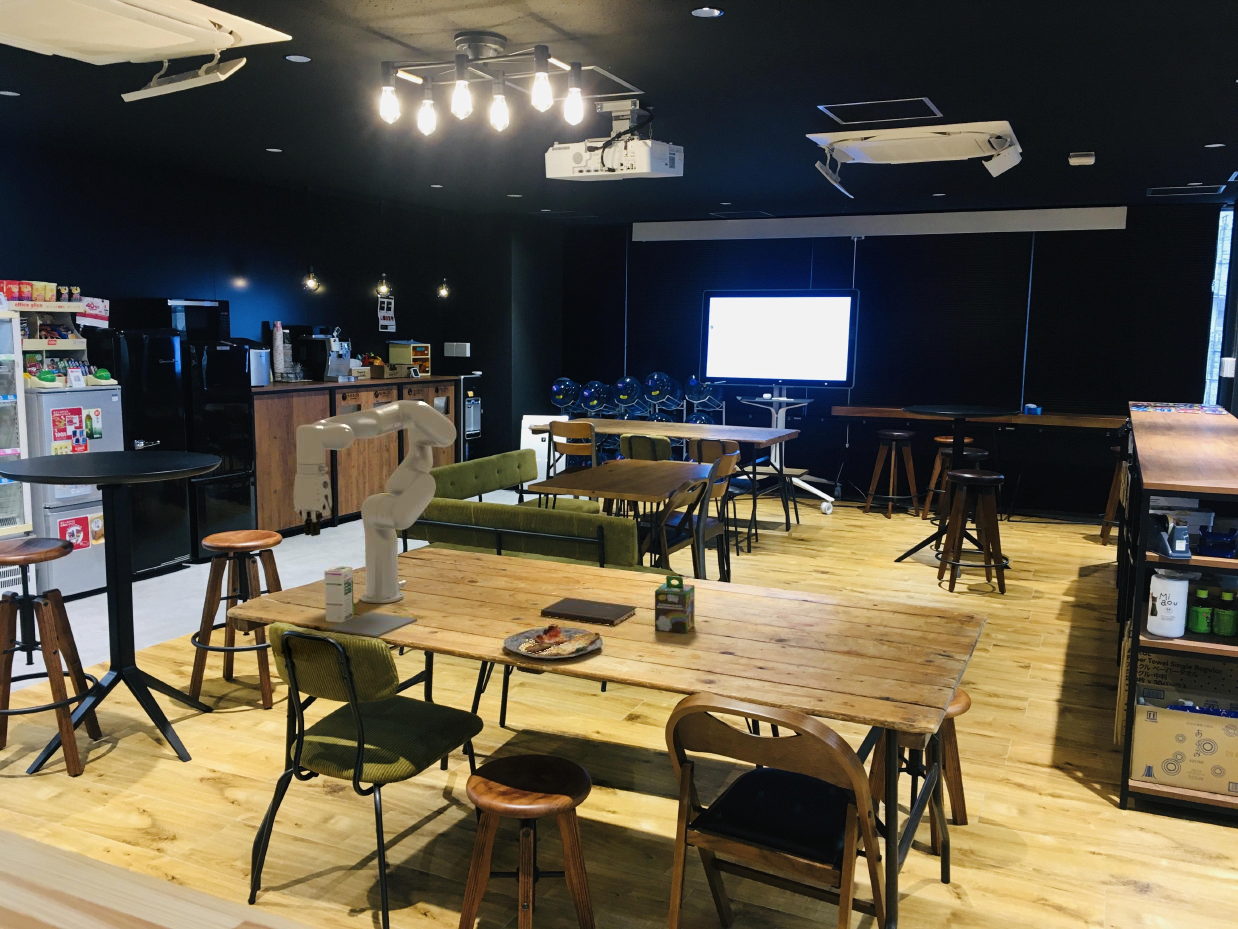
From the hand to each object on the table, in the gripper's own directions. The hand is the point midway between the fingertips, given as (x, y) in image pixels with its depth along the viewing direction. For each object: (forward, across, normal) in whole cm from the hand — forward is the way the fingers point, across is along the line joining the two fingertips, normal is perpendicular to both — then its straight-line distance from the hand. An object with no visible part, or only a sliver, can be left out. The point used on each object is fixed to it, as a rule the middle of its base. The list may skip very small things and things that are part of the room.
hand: (312, 534), depth 271 cm
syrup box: (+23, -9, 0) cm, 25 cm away
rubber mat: (+23, -20, 0) cm, 31 cm away
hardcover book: (+24, -68, -37) cm, 81 cm away
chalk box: (+23, -95, -35) cm, 104 cm away
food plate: (+24, -74, -4) cm, 78 cm away
